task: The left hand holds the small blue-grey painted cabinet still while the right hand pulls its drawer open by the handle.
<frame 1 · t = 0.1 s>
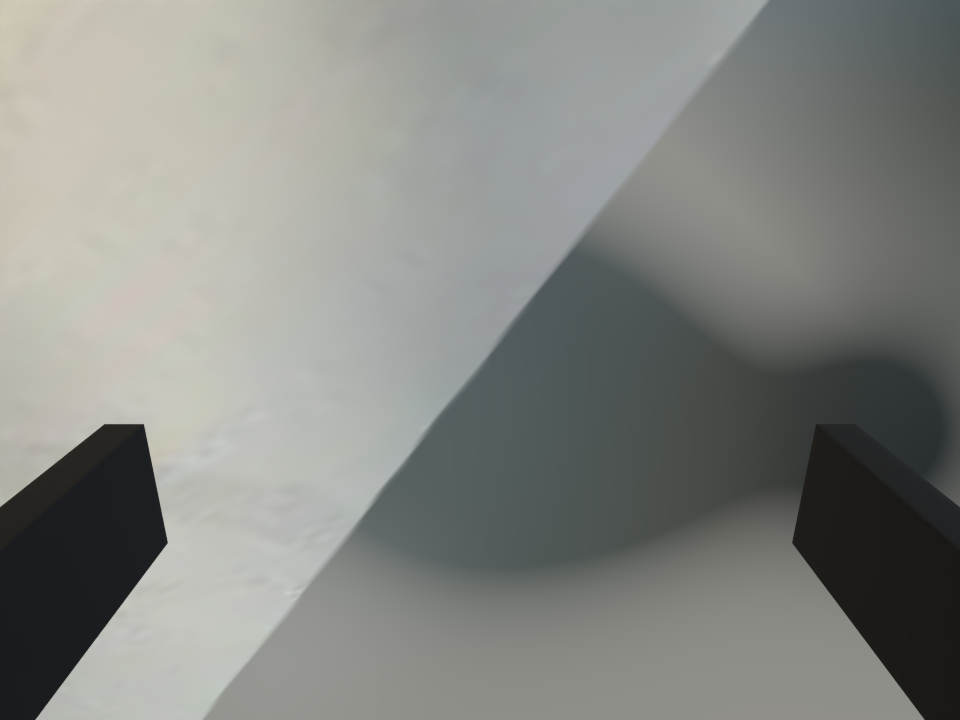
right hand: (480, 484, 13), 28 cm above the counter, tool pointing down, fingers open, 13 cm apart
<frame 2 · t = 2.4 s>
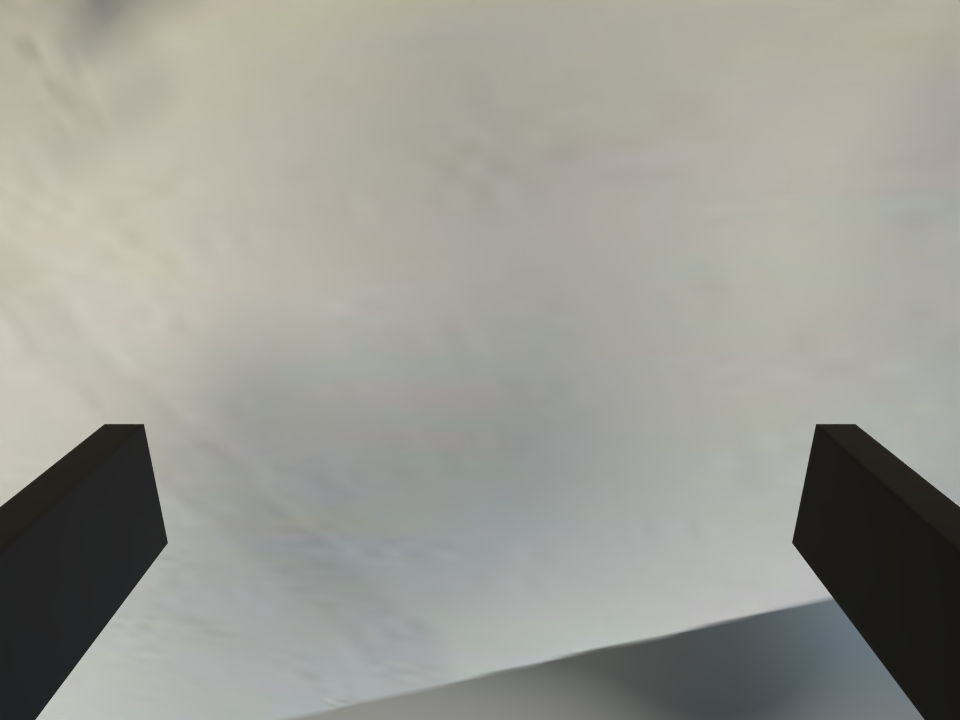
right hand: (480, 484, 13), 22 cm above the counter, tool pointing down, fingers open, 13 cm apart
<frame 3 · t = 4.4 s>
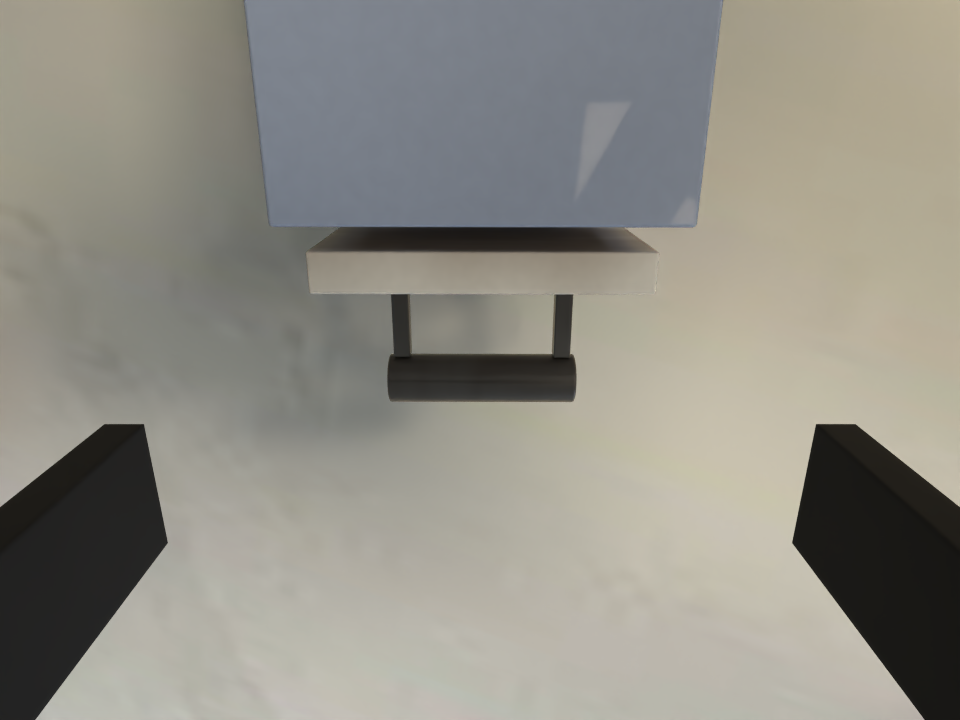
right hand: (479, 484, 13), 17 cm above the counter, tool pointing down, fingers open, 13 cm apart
drawer: (482, 88, 20), point 6 cm above the counter, slide at 0.8 cm
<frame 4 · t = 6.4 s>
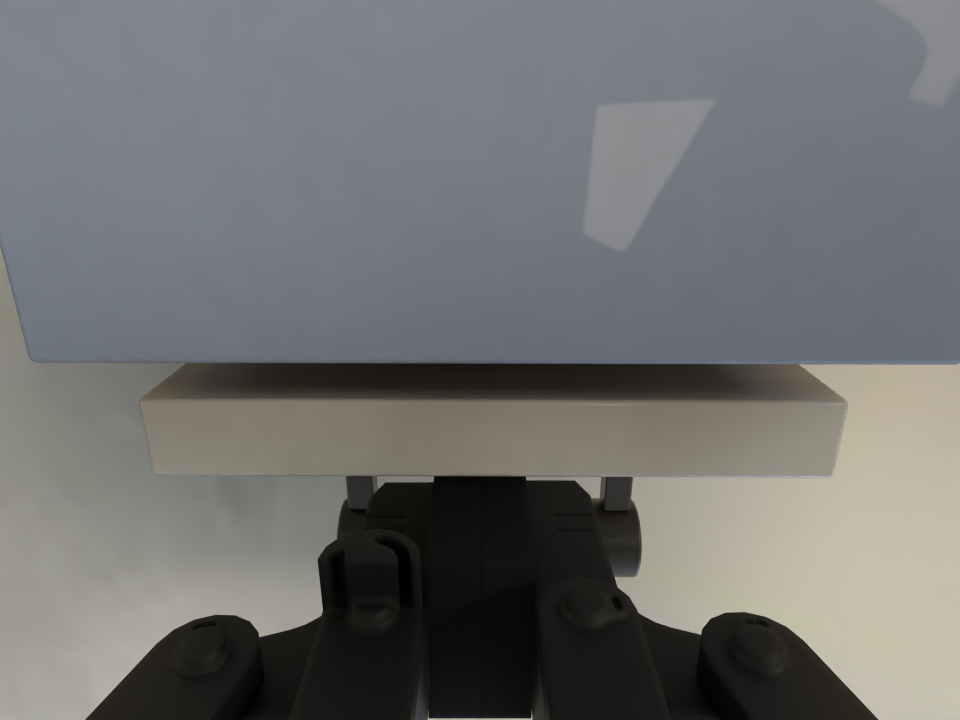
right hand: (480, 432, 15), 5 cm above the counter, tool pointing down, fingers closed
drawer: (491, 76, 12), point 6 cm above the counter, slide at 0.9 cm, touching right hand
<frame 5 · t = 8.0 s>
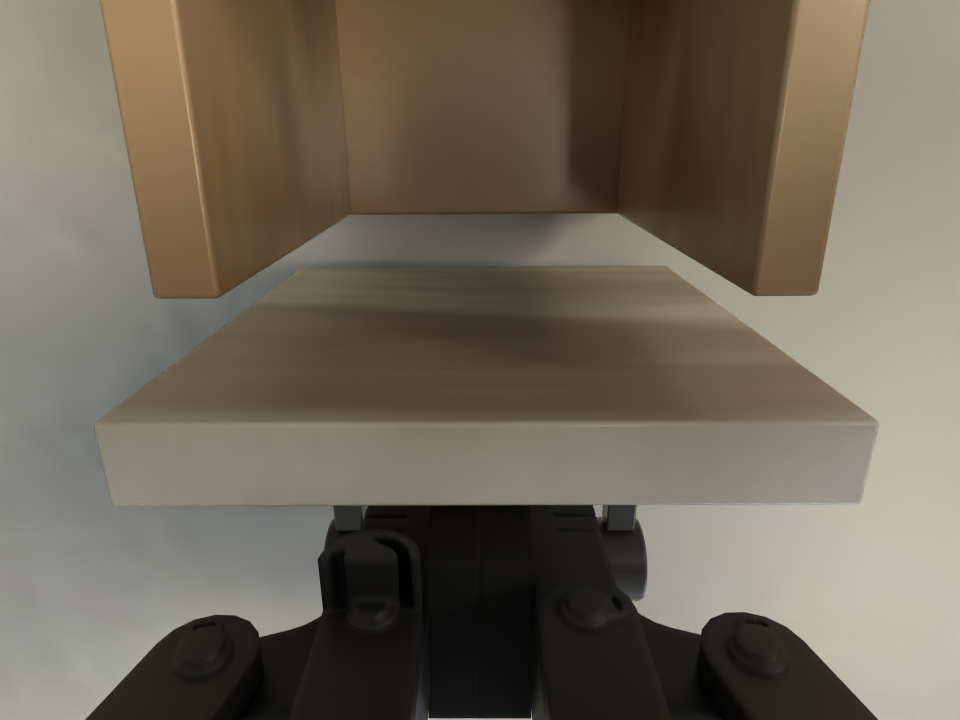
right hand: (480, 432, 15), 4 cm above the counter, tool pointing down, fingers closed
drawer: (483, 68, 11), point 6 cm above the counter, slide at 6.7 cm, touching right hand
when the left hand's fingers open (7 cm above the counter, at t = 9.8 s): cabinet stays where it is, on the counter.
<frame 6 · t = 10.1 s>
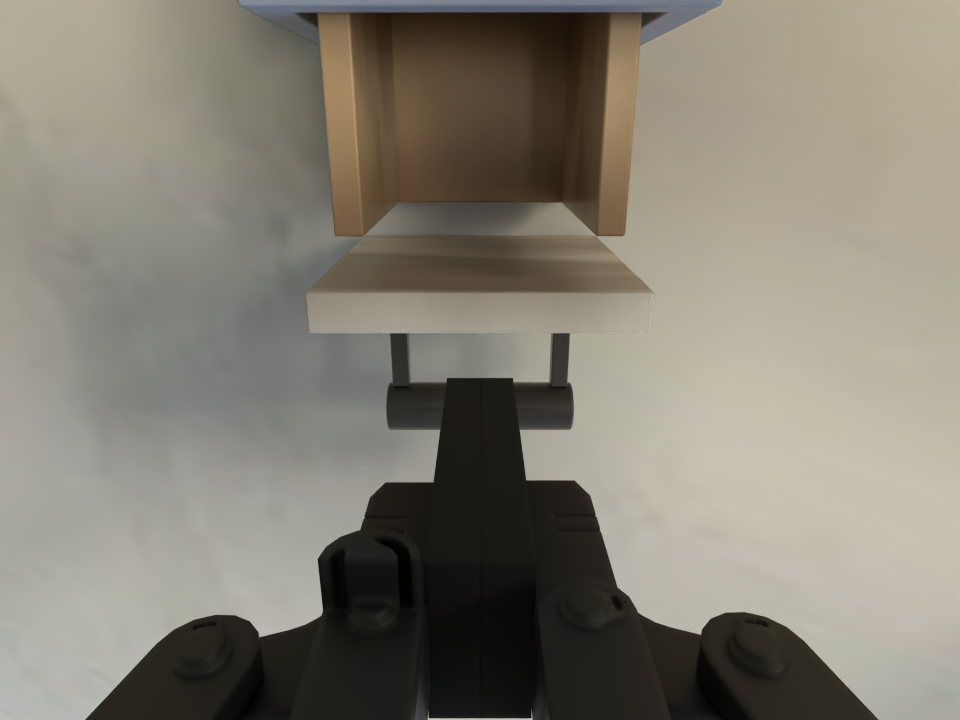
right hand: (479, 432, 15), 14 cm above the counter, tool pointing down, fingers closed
drawer: (479, 124, 20), point 6 cm above the counter, slide at 6.8 cm
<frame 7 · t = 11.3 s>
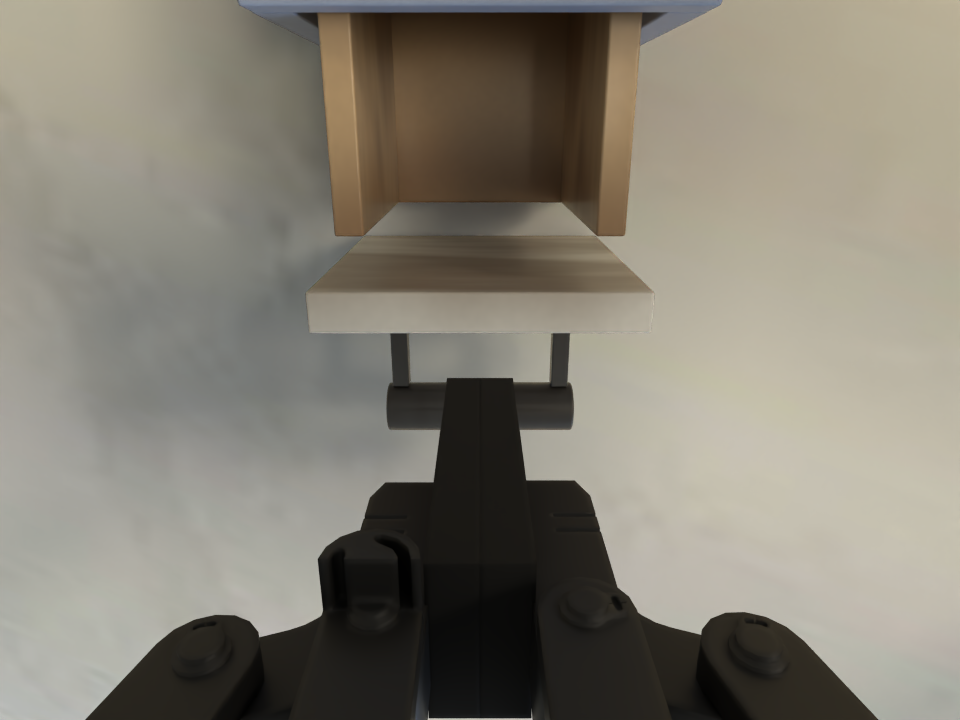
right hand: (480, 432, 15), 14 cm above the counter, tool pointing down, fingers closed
drawer: (479, 124, 20), point 6 cm above the counter, slide at 6.8 cm
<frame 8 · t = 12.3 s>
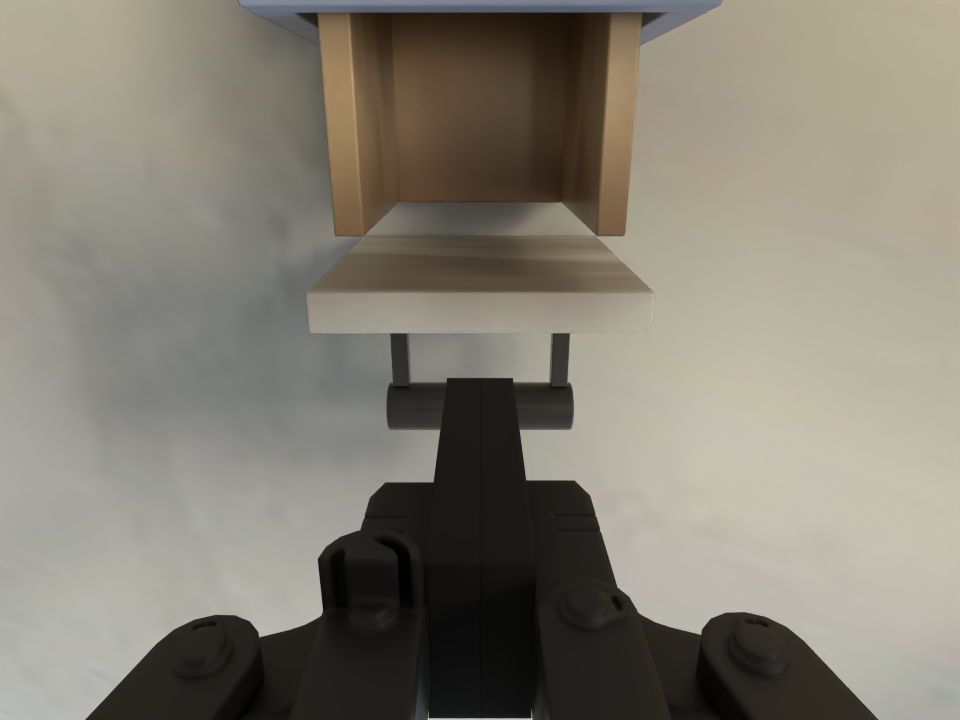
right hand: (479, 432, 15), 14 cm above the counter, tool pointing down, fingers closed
drawer: (479, 124, 20), point 6 cm above the counter, slide at 6.8 cm
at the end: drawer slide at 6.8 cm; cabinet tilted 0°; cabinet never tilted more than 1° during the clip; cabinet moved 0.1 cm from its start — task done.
